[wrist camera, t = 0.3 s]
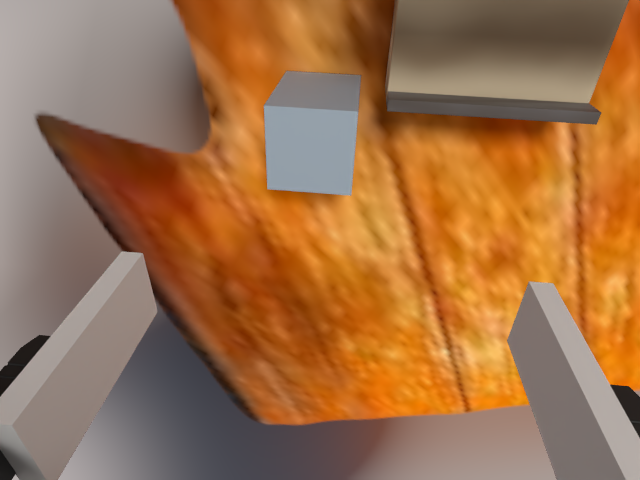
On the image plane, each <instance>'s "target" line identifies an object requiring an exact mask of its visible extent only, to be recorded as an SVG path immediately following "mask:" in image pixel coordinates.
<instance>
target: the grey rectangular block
mask: <svg viewBox="0 0 640 480" xmlns="http://www.w3.org/2000/svg"><path fill="white" fill-rule="evenodd" d="M360 82H361V75H349V74H332V73H315V72H298V71H286V73H285V74H284V76H283V77H282V79H281V80H280V82H279V83H278V85H277V86H276V88H275V90H274V91H273V93H272V94H271V96H270V97H269V99H268V100H267V102H266V103H265V105H264V117H265V141H266V165H267V189H273V190H286V191H299V192H312V193H325V194H338V195H351V191H352V179H353V168H354V156H355V144H356V132H357V120H358V108H359V95H360Z"/></svg>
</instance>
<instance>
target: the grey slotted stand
mask: <svg viewBox="0 0 640 480" xmlns="http://www.w3.org/2000/svg"><path fill="white" fill-rule="evenodd" d="M628 1H629V0H395V5H394V14H393V22H392V31H391V40H390V48H389V57H388V65H387V74H386V83H385V93H386V103H387V111H393V112H409V113H424V114H440V115H456V116H472V117H487V118H503V119H519V120H535V121H550V122H566V123H582V124H597V122H598V119H599V117H600V115H601V112H600V111H598V110H597V109H596V108H594V107H593V106H592V105H590V104H589V102H590V99H591V96H592V94H593V91H594V89H595V86H596V84H597V81H598V78H599V76H600V73H601V71H602V68H603V66H604V63H605V60H606V58H607V55H608V53H609V50H610V48H611V45H612V42H613V40H614V37H615V35H616V32H617V30H618V27H619V24H620V22H621V19H622V17H623V14H624V12H625V9H626V6H627V4H628Z"/></svg>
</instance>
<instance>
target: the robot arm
mask: <svg viewBox="0 0 640 480" xmlns="http://www.w3.org/2000/svg"><path fill="white" fill-rule="evenodd" d="M156 314H157V307H156V303H155V299H154V295H153V291H152V287H151V283H150V280H149V276H148V272H147V268H146V264H145V260H144V256H143V253H134V252H121V253H120V254H119V255H118V257H117V258H116V259H115V260H114V262H113V263H112V264H111V265H110V266H109V267H108V269H107V270H106V271H105V272H104V273H103V275H102V276H101V277H100V278H99V279H98V281H97V282H96V283H95V284H94V285H93V286H92V288H91V289H90V290H89V291H88V293H87V294H86V295H85V296H84V297H83V298H82V300H81V301H80V302H79V303H78V305H77V306H76V307H75V308H74V309H73V311H72V312H71V313H70V314H69V315H68V316H67V318H66V319H65V320H64V321H63V322H62V324H61V325H60V326H59V327H58V328H57V330H56V331H55V332H54V333H53V334H52V336H43V335H39V336H37V337H36V338H34V339H33V340H31V341H30V342H29V343H27V344H26V345H24V346H23V347H21V348H20V349H19V351H18V352H17V353H16V354H15V355H14V356H13V357H12V358H11V360H10V361H9V362H8V365H7V366H4V367H3V369H2V370H1V371H0V480H12V478H13V477H14V475H15V474H16V475H17V477H18V478H19V480H58V478H59V477H60V475H61V473H62V472H63V470H64V468H65V467H66V465H67V463H68V462H69V460H70V458H71V457H72V455H73V453H74V452H75V450H76V448H77V447H78V445H79V443H80V441H81V440H82V438H83V436H84V434H85V433H86V431H87V430H88V428H89V426H90V425H91V423H92V421H93V420H94V418H95V416H96V414H97V413H98V411H99V410H100V408H101V406H102V404H103V403H104V401H105V399H106V398H107V396H108V394H109V393H110V391H111V389H112V388H113V386H114V384H115V382H116V381H117V379H118V378H119V376H120V374H121V372H122V371H123V369H124V367H125V366H126V364H127V362H128V361H129V359H130V357H131V356H132V354H133V352H134V351H135V349H136V347H137V345H138V343H139V342H140V340H141V339H142V337H143V335H144V334H145V332H146V330H147V329H148V327H149V325H150V324H151V322H152V320H153V319H154V317H155V315H156ZM507 341H508V344H509V347H510V350H511V353H512V355H513V358H514V361H515V364H516V367H517V369H518V372H519V375H520V378H521V381H522V384H523V386H524V389H525V392H526V395H527V398H528V400H529V403H530V406H531V409H532V412H533V414H534V417H535V420H536V423H537V425H538V428H539V431H540V434H541V437H542V439H543V442H544V445H545V448H546V451H547V453H548V456H549V459H550V462H551V465H552V467H553V470H554V473H555V476H556V479H557V480H640V397H639V396H638V395H637V394H636V393H635V392H634V391H633V390H632V389H631V388H630V387H629V386H619V385H610V384H609V382H608V381H607V379H606V377H605V375H604V374H603V372H602V370H601V368H600V366H599V365H598V363H597V361H596V359H595V357H594V356H593V354H592V352H591V350H590V349H589V347H588V345H587V343H586V341H585V340H584V338H583V336H582V334H581V332H580V331H579V329H578V327H577V325H576V323H575V322H574V320H573V318H572V316H571V315H570V313H569V311H568V309H567V307H566V306H565V304H564V302H563V300H562V298H561V297H560V295H559V293H558V291H557V289H556V288H555V286H554V284H553V283H541V282H529V283H528V286H527V289H526V291H525V294H524V297H523V299H522V302H521V305H520V307H519V310H518V313H517V316H516V318H515V321H514V324H513V326H512V329H511V332H510V334H509V337H508V340H507Z"/></svg>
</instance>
